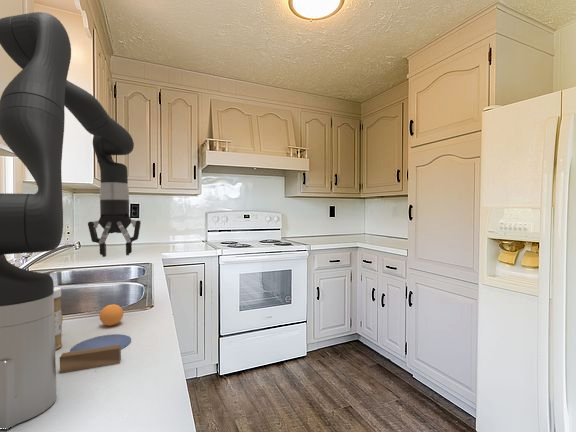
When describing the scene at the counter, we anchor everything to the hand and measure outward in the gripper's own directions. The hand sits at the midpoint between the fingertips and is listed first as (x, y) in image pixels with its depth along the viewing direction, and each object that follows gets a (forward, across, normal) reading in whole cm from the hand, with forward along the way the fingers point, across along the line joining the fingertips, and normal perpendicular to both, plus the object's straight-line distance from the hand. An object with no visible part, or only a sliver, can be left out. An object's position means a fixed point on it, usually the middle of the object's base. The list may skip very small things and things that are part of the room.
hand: (116, 255), depth 93 cm
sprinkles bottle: (+18, +10, +21) cm, 29 cm away
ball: (+15, 0, +10) cm, 18 cm away
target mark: (+17, 0, +24) cm, 29 cm away
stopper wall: (+17, 0, +34) cm, 38 cm away
